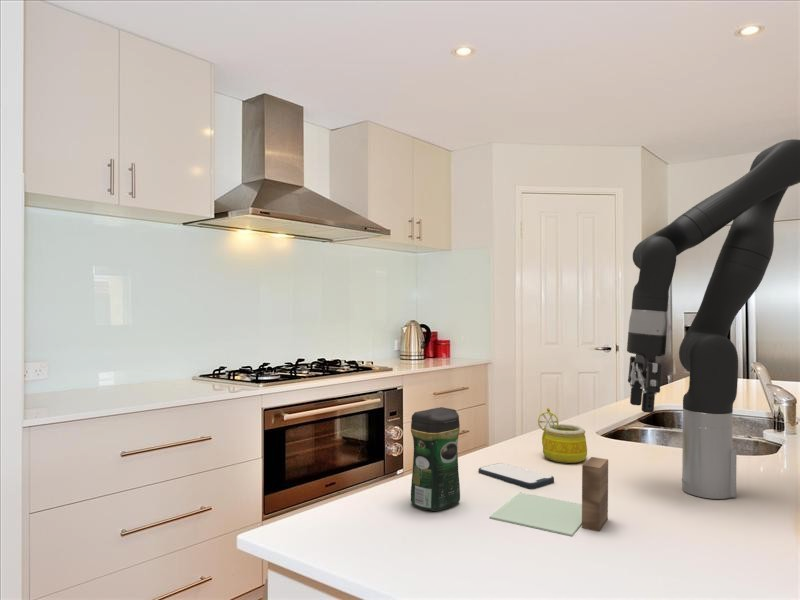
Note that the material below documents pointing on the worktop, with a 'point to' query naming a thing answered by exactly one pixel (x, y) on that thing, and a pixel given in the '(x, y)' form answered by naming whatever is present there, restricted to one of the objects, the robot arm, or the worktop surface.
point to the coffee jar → (435, 459)
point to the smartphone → (517, 475)
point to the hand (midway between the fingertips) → (641, 408)
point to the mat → (541, 513)
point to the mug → (563, 441)
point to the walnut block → (594, 493)
